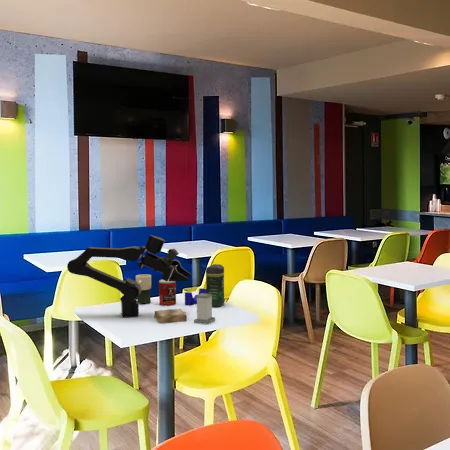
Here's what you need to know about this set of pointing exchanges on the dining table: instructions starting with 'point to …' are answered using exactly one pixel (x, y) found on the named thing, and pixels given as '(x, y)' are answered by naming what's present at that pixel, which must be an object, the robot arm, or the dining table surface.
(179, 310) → the light tan tray
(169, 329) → the dining table surface
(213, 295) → the coffee jar
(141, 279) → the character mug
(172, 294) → the canned food
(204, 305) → the steel housing
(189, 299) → the cable clip
